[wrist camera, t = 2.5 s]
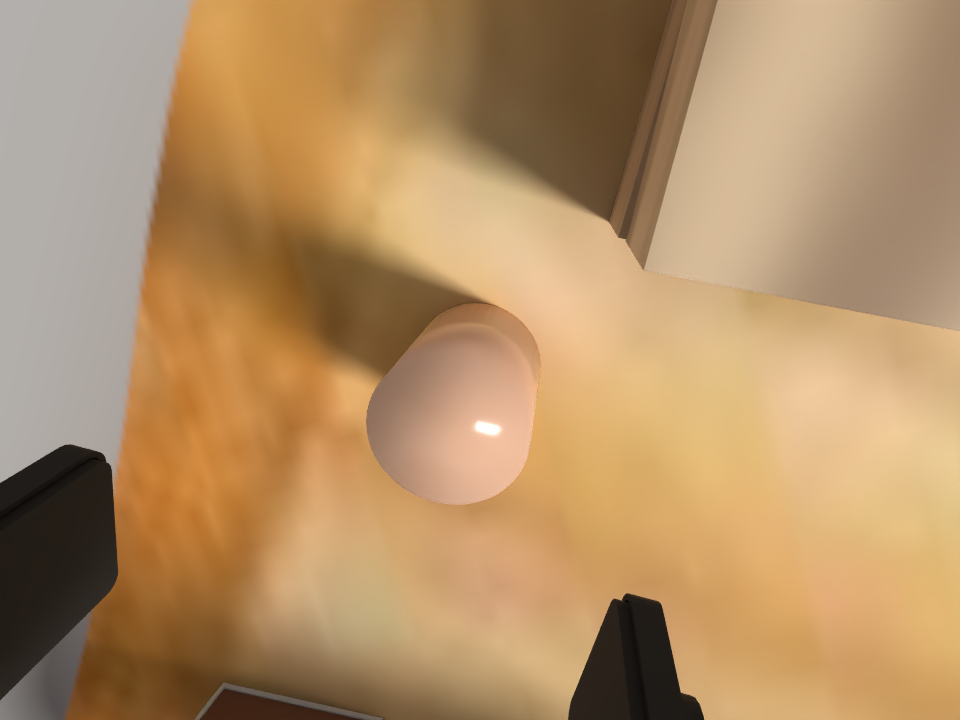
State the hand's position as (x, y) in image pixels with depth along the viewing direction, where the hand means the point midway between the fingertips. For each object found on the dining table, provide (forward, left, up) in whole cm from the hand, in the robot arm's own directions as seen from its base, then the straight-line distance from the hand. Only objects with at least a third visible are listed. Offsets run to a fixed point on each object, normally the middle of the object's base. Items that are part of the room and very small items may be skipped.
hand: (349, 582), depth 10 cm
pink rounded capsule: (0, 0, -13) cm, 13 cm away
